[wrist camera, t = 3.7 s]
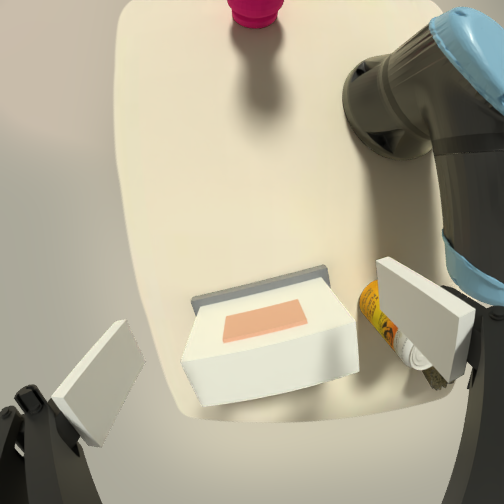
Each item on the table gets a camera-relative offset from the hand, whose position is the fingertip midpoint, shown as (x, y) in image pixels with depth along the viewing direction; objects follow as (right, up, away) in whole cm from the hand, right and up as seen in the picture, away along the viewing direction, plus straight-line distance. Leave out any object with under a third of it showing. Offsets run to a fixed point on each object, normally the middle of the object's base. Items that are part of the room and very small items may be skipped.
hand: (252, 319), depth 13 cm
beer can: (+18, -3, +24) cm, 30 cm away
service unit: (+2, -4, +24) cm, 25 cm away
